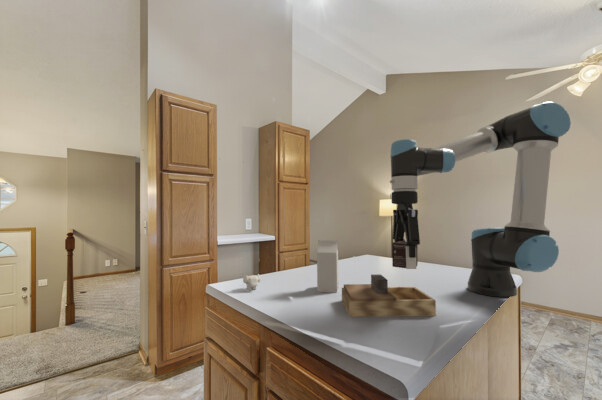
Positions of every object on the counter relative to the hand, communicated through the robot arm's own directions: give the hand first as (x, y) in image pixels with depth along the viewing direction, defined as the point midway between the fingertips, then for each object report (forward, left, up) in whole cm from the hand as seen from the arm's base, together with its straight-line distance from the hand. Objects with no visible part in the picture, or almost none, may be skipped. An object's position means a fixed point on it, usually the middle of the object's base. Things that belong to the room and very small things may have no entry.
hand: (405, 265), depth 87 cm
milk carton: (+21, -21, -13) cm, 33 cm away
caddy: (+6, 0, -13) cm, 15 cm away
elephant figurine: (+50, -25, -14) cm, 58 cm away
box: (0, 0, 0) cm, 0 cm away
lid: (+12, 0, -8) cm, 14 cm away
